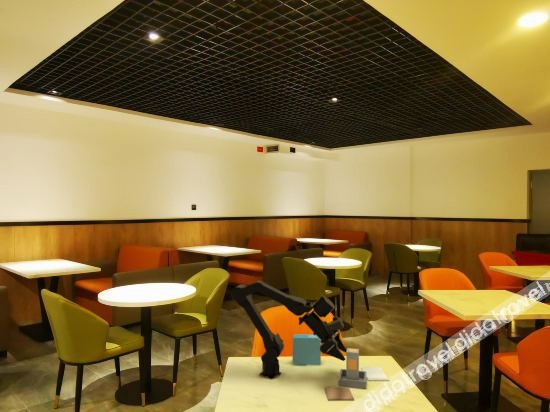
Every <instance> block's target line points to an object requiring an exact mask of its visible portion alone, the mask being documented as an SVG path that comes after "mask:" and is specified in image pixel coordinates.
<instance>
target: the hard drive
mask: <svg viewBox="0 0 550 412" xmlns="http://www.w3.org/2000/svg"><path fill="white" fill-rule="evenodd" d="M360 369H361V371H366V381H368V382H390V379H389V377H388V376H387V374H385V372H384V371H383V369H382V367H380V366H362V367H360Z"/></svg>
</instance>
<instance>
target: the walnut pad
mask: <svg viewBox="0 0 550 412" xmlns="http://www.w3.org/2000/svg"><path fill="white" fill-rule="evenodd" d="M323 389H324V391H325V395H326V399H327V401H329V402H334V401H335V402H336V401H338V402H339V401H340V402H342V401H343V402H344V401H346V402H347V401H348V402H350V401H351V402H353V401H355V398H354V396H353V393H352V391H351V390H350V389H351V388H349V387H340V386H335V387H333V386H328V387H327V386H325V387H324V388H323Z"/></svg>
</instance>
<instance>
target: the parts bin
mask: <svg viewBox="0 0 550 412" xmlns="http://www.w3.org/2000/svg"><path fill="white" fill-rule="evenodd" d="M338 374H339V375H338V381H337V382H338V386H337V387H349V389H361V390H367V378H366V371H362V370H359V380H349V379H346V369H345V368H340V371H339V373H338Z"/></svg>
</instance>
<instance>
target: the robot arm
mask: <svg viewBox="0 0 550 412" xmlns="http://www.w3.org/2000/svg"><path fill="white" fill-rule="evenodd" d="M255 293H259V294H261V295H263V296H265V297H267V298H270V299H271V300H274V301H275V302H277V303H279V304H280V305H282V306H284V307H285V308H286V309H287V310H288V311H289V312H290V313H292V314H293V315H295V316H297V317H298V325H299V326H301V325H302V324H303V323H304V324H305V325H306V326H307V327H308V328H309V329H310V330H311V331H312V332H313V333H312V335H314V336H315V335H316V336H317V337H318V338H319V339H320V340H321V341H320V342H321V346H320V351H321V353H322V354H323V355H328V356H330V357H332V358H336V359H338V360H340V361H343V362H345V360H346V357H345V356H344V354H343V353H345V354H346V351H347V348H346V346H345V344H344V343H343V341H342V339H341V331H340V330H343V329H344V326H345V324H344V323H343V319H342V318H341V317H338V316H337V315H335V316H333V317H332V320H331V321H330V322H327V321H326V320H323V319H321V318H326V317H327V316H329V314H330V313H331V312H332V311H333V310H334V309H335V308H336V307H335V305H334V303H333V302H332V301H331V300H330V299H329V298H327V297H326V296H324V295H322V294H321V296H319V298H318V300H316V301H314V302H313V301H311V302H310V301H307V300H306V299H305V298H301V297H298V296H296V295H290V294H287V293H285V292H283V291H281V290H279V289H277V288H275V287H273V286H271V285H270V284H267V283H265V282H264V281H263V280H257V281H254V282H252V283H249V284H239V285H238V286H235V287H234V288H233V289H232V290H231V294H230V295H231V299H232V300H233V301H234V302H235V303H236V305H238V306H240V307H241V308H242V309H243V310H244V311H245V313H246V315H247V316H248V318H249V320H250V321H251V324H253V326H254V327H255V329H256V331H257V332H258V334H259V336H260V337H261V339H262V342H263V347H264V350H265V351H264V352H263V354H262V355H261V357H260V359H261V367H262V368H261V370H262V371H261V372H259V375H260V376H262V377H265V378H268V379H270V380H271V379H274V378H276V377H278V376H281V375H282V372H281V371H280V360H279V359H278V358H279V357H280V355H281V354H282V352H283V350H284V349H285V344H284V340H283V339H282V338H281V336H280V334H279V332H277V333H276V334H275V332H274V333H273V332H272V330H271V329H270V327H269V325H268V324H267V322H266V320H265V319H264V318H263V316H262V314H261V312H259V310H258V308H257V306H256V305H255V303H254V302H253V301H254V299H253V296H252V295H253V294H255ZM341 351H342V352H343V353H342V352H341Z"/></svg>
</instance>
